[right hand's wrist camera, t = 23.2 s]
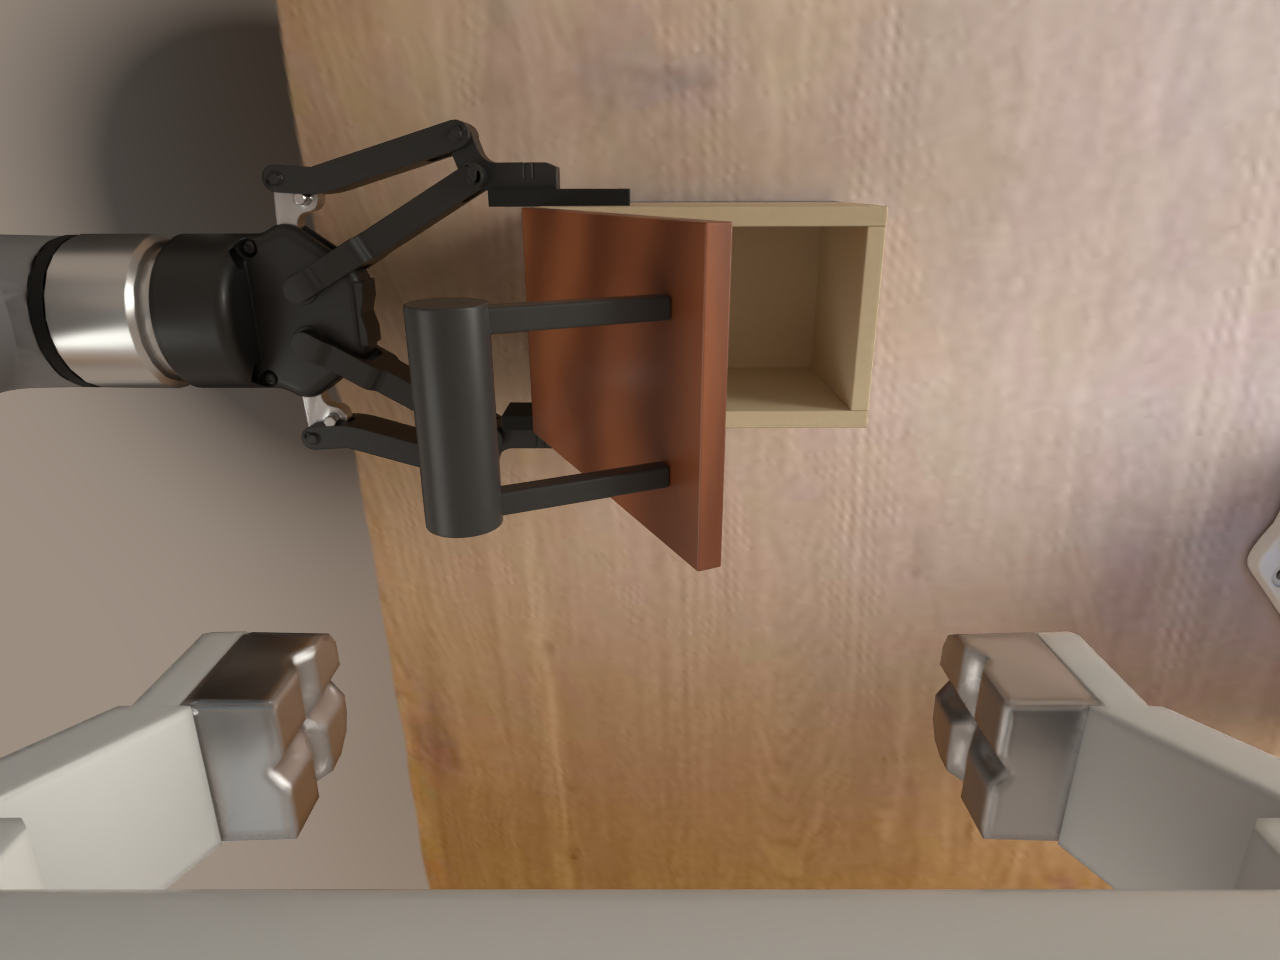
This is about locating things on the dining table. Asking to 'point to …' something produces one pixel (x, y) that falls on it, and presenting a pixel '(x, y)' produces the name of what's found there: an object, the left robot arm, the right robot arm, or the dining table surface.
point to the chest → (795, 307)
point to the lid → (588, 378)
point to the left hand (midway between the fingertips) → (630, 311)
